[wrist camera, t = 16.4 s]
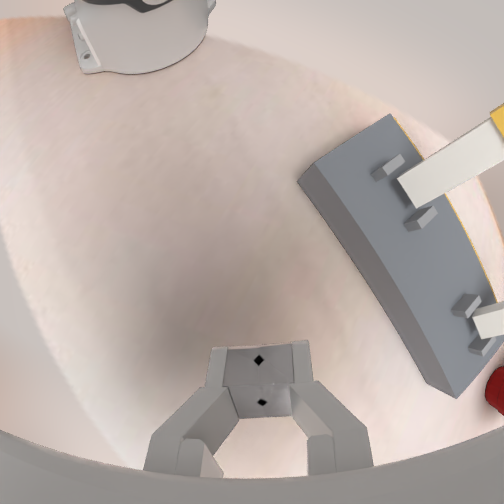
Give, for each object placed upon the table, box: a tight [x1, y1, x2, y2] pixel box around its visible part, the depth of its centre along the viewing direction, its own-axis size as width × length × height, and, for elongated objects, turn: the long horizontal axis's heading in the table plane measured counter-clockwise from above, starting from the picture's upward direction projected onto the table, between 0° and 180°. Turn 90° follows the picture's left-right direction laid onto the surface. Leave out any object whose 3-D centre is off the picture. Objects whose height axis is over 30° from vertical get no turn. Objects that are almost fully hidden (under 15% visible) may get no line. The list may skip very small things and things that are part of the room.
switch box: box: [297, 114, 504, 399], centre depth 28 cm, size 28×10×8 cm, turn 36°
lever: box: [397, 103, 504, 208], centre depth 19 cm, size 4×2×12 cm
